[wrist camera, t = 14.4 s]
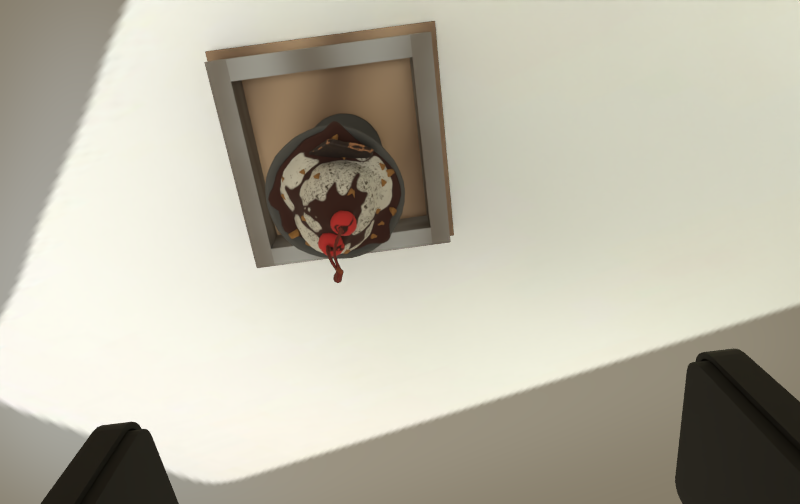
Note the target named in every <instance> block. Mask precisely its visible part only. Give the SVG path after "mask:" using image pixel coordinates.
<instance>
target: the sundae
mask: <svg viewBox="0 0 800 504" xmlns="http://www.w3.org/2000/svg"><path fill="white" fill-rule="evenodd" d="M265 195H266V202H267V208H268V211H269V213H270V216H271V218H272V220H273V222H274V224H275V226H276V228H277V230H278V231H279V232H280V233H281V235H282V236H283V237H284V238H285V239H286V240H287V241H288V242H290V243H291V244H292V245H293V246H295V247H296V248H297V249H299V250H301V251H304V252H306V253H308V254H311V255H314V256H318V257H323V258H329V260H330V262H331V264H332V266H333V267H334V268H335V270H336V273H335V275H334V281H335V282H337V283H339V282H341V280H342V275H343V270H342V269H341V268H340V266H339V264H338V261H337V258H339V259H341V258H353V257H357V256H360V255H363V254H366V253H368V252H371V251H373V250H374V249H376V248H377V247H378V246H380V245H381V244H382V243H385V242H387V241H388V240H389V239H390V237H391V234H392V232H393V231H394V229H395V227H396V225H397V224H398V222H399V219H400V217H401V215H402V212H403V207H404V202H405V187H404V181H403V178H402V175H401V172H400V170H399V168H398V166H397V164H396V162H395V160H394V159H393V158H392V157H391V156H390V154H389V153H388V152H387V151H386V150H385V149H384V148H383V147H382V143H381V140H380V138H379V135H378V133H377V131H376V130H375V129H374V128H373V126H372V125H371V124H369V123H368V122H367V121H366V120H364V119H362V118H361V117H358V116H356V115H353V114H335V115H332V116H329V117H327V118H325V119H323V120H322V121H321V122H319V123H318V124H317V125H316V126H315V128H312V129H310V130H307V131H305V132H303V133H301V134H300V135H298V136H296V137H294V138H293V139H292V140H291V141H289V142H288V143H287V144H286V145H285V146H284V147H283V148H282V149H281V150H280V151H279V152H278V154H277V155H276V156H275V157H274V159H273V161H272V163H271V165H270V167H269V170H268V173H267V176H266V183H265ZM332 258H334V260H335V263H336V265H335V263H334V262H333V260H332Z"/></svg>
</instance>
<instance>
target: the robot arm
mask: <svg viewBox="0 0 800 504" xmlns="http://www.w3.org/2000/svg"><path fill="white" fill-rule="evenodd" d="M675 483H676V489H677V492H678V495H679V497H680V500H681V501H682V503H683V504H800V402H799V401H798V400H797V399H796V398H795V397H794V396H792V395H791V394H790V393H789V392H788V391H787V390H786V389H785V388H783V387H782V386H781V385H780V384H779V383H778V382H776V381H775V380H774V379H773V378H772V377H771V376H770V375H769V374H768V373H767V372H765V371H764V370H763V369H762V368H761V367H760V366H759V365H757V364H756V363H755V362H754V361H753V360H752V359H751V358H749V357H748V356H747V355H746V354H745V353H744V352H742V351H741V350H739V349H726V350H718V351H710V352H703V353H700V354H699V355H698V356H697V358H696V362H692V363H690V364H689V366H688V369H687V375H686V384H685V393H684V403H683V411H682V422H681V430H680V439H679V449H678V458H677V467H676V476H675ZM41 504H179V503H178V501H177V499H176V496H175V493H174V491H173V488H172V486H171V483H170V481H169V478H168V476H167V473H166V471H165V468H164V466H163V463H162V461H161V458H160V456H159V453H158V451H157V448H156V446H155V443H154V441H153V438H152V436H151V434H150V432H149V431H148V430H147V429H141V427H140V425H139V424H137V423H136V422H126V423H118V424H110V425H102V426H99V427H97V428H96V429H95V430H94V431H93V432H92V434H91V435H90V436H89V438H88V439H87V441H86V442H85V443H84V445H83V446H82V447H81V449H80V450H79V452H78V453H77V454H76V456H75V457H74V459H73V460H72V461H71V463H70V464H69V465H68V467H67V468H66V470H65V471H64V472H63V474H62V475H61V477H60V478H59V479H58V480H57V482H56V483H55V485H54V486H53V488H52V489H51V490H50V491H49V493H48V494H47V496H46V497H45V498H44V500H43V501H42V502H41Z"/></svg>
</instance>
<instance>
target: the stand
mask: <svg viewBox="0 0 800 504" xmlns="http://www.w3.org/2000/svg"><path fill="white" fill-rule="evenodd" d="M205 53H206V57H207V61H208V62H205V66H206V70H207V74H208V78H209V82H210V86H211V90H212V94H213V97H214V101H215V105H216V109H217V113H218V117H219V121H220V125H221V129H222V133H223V137H224V141H225V145H226V149H227V152H228V156H229V160H230V164H231V168H232V172H233V176H234V180H235V184H236V188H237V192H238V196H239V200H240V204H241V207H242V211H243V215H244V219H245V223H246V227H247V231H248V235H249V239H250V243H251V247H252V251H253V255H254V259H255V262H256V266H257V268H261V267H269V266H276V265H284V264H291V263H299V262H306V261H314V260H321V259H329V258H323V257H318V256H314V255H311V254H308V253H306V252H304V251H301V250H299V249H297V248H296V247H295V246H293V245H292V244H291V243H290V242H288V241H287V240H286V239H285V238H284V237H283V236H282V235H281V233H280V232H279V231H278V230H277V228H276V226H275V224H274V222H273V220H272V218H271V216H270V213H269V211H268V208H267V202H266V195H265V183H266V176H267V173H268V170H269V167H270V165H271V163H272V161H273V159H274V157H275V156H276V155H277V154H278V152H279V151H280V150H281V149H282V148H283V147H284V146H285V145H286V144H287V143H288V142H289V141H291V140H292V139H293V138H294V137H296V136H298V135H300V134H301V133H303V132H305V131H307V130H310V129H312V128H315V126H316V125H317V124H318V123H319V122H321V121H322V120H323V119H325V118H327V117H329V116H332V115H335V114H353V115H356V116H358V117H361V118H362V119H364V120H366V121H367V122H368V123H369V124H371V125H372V126H373V128H374V129H375V130H376V131H377V133H378V135H379V138H380V140H381V143H382V147H383V148H384V149H385V150H386V151H387V152H388V153H389V154H390V156H391V157H392V158H393V159H394V160H395V162H396V164H397V166H398V168H399V170H400V172H401V175H402V178H403V181H404V187H405V202H404V207H403V212H402V215H401V217H400V219H399V222H398V224H397V225H396V227H395V229H394V231H393V232H392V234H391V237H390V239H389V240H388V241H387V242H385V243H382V244H381V245H380V246H378V247H377V248H376V249H374V250H373V251H371V252H368V253H373V252H381V251H388V250H396V249H403V248H411V247H418V246H426V245H433V244H441V243H448V242H450V236H452V235H454V232H453V220H452V209H451V198H450V186H449V175H448V164H447V153H446V141H445V130H444V119H443V107H442V96H441V85H440V74H439V62H438V51H437V40H436V28H435V21H431V22H423V23H416V24H408V25H401V26H393V27H386V28H378V29H371V30H363V31H356V32H348V33H341V34H333V35H326V36H318V37H311V38H304V39H296V40H289V41H281V42H274V43H266V44H259V45H251V46H244V47H236V48H229V49H221V50H214V51H206V52H205Z"/></svg>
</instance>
